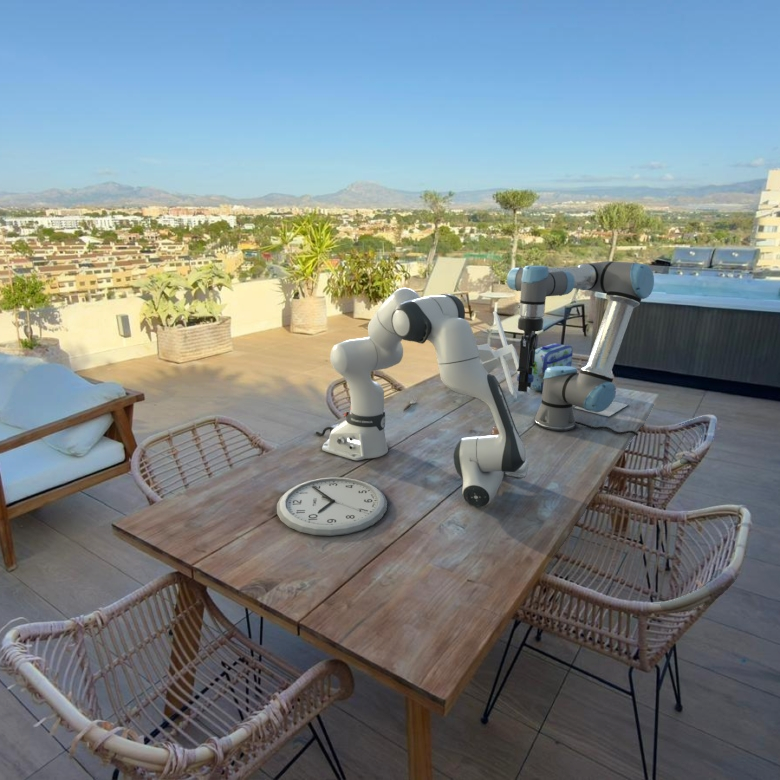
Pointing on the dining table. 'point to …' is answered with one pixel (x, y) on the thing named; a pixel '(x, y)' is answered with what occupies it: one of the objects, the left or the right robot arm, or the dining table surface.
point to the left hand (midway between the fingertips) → (497, 453)
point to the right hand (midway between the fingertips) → (524, 388)
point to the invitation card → (608, 409)
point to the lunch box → (549, 361)
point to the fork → (411, 403)
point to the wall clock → (331, 506)
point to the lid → (530, 378)
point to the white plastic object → (500, 357)
